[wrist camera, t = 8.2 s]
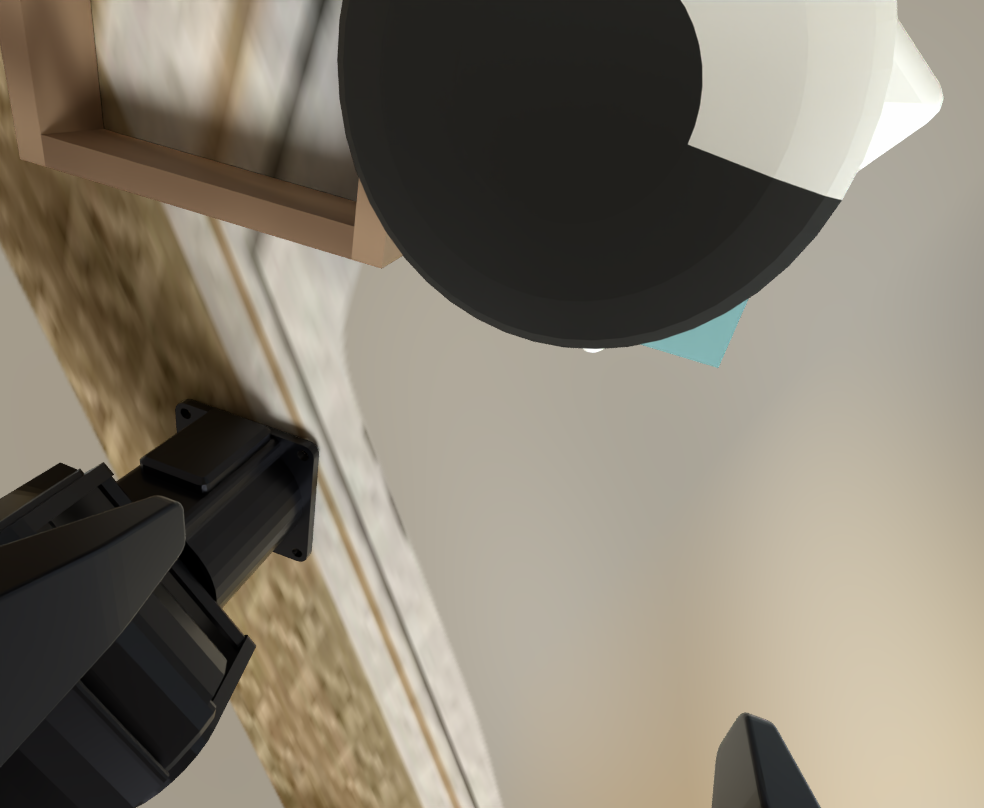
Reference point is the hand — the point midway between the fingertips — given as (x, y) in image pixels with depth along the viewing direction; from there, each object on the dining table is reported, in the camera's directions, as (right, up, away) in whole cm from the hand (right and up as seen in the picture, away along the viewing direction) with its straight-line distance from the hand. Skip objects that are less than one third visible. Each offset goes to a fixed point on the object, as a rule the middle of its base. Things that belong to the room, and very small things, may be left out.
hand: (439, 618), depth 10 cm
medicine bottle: (+5, +12, +7) cm, 15 cm away
